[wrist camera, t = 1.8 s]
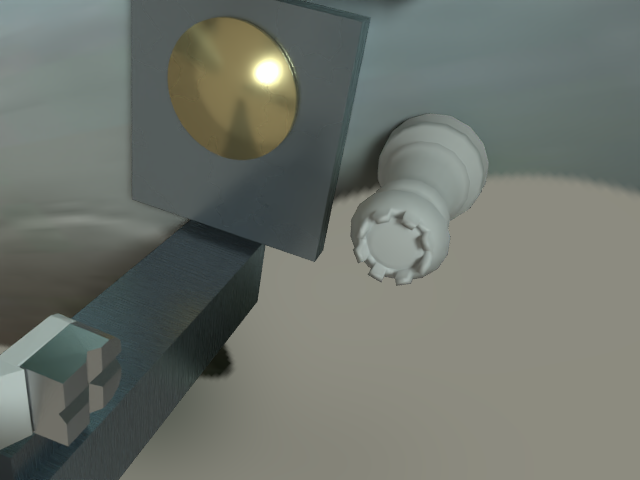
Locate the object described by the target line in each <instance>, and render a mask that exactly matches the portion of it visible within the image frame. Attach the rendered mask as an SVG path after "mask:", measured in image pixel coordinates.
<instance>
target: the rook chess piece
mask: <svg viewBox="0 0 640 480" xmlns="http://www.w3.org/2000/svg"><path fill="white" fill-rule="evenodd" d="M488 166H489V162H488V159H487V155H486V151H485V147H484V144H483V142H482V141H481V140H480V138H479V137H478V136H477V135H476V133H475V132H474V131H473V130H472V128H471V127H470V126H468V125H466V124H464V123H463V122H461V121H459V120H457V119H455V118H454V117H452V116H447V115H439V114H430V113H428V114H425V115H421V116H417V117H414V118H410V119H408V120H406V121H405V122H404V123H402V124H401V125H400V126H399V127H397V128H396V129H395V130H394V131H392V133H391V135H390V136H389V138H388V140H387V142H386V144H385V146H384V148H383V150H382V152H381V154H380V156H379V166H378V181H379V184H380V187H381V188H380V189H378V190H377V191H376V193H374V194H373V195H372V196H370V197H369V198H367V199H366V200H365V201H363V202H362V203H361V204H360V205H359V206H358V208H357V210H356V212H355V214H354V216H353V218H352V220H351V238H352V242H353V244H354V247H355V248H354V249H353V251H354V254H355V256H356V259H357V262H358V263H360V262H363V261H364V262H365V263H366V264H367V266H368V267H370V268H371V270H370V272H369V273H368V275H369V276H371V277H373V278H374V279H376V280H378V281H380V282H382V279H383V278H384V276H385V277H390V278H395V280H396V285H404V284H411V282H412V279H417V278H423V277H424V276H426V275H428V274H429V273H431V272H433V271H434V270H436V269H438V267H439V266H440V265H441V263H442V262H443V260H444V259H445V257H446V256H447V255H448V248H449V242H450V234H449V231H448V227H449V221H450V220H452V219H454V218H455V217H457V216H458V215H460V214H462V213H463V212H465V211H467V210H468V209H469V208H471V206H472V205H473V203H474V202H475V200H476V199H477V197H478V196H479V195H480V193H481V192H482V188H483V187H484V185H485V183H486V178H487V172H488Z"/></svg>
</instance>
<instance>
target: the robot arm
mask: <svg viewBox="0 0 640 480" xmlns="http://www.w3.org/2000/svg"><path fill="white" fill-rule="evenodd" d="M120 352H121V340H120V339H118V338H116V337H114V336H112V335H110V334H107V333H105V332H102V331H100V330H98V329H95V328H93V327H91V326H88V325H86V324H84V323H81V322H79V321H76V320H73V319H71V318H68V317H66V316H64V315H61V314H59V313H57V314H54V315H50V316H49V317H48V318H46V319H45V320H44V321H42V322H41V323H40V324H39V325H37V326H36V327H35V328H34V329H32V330H31V331H30V332H29V333H27V334H26V335H25V336H23V337H22V338H21V339H20V340H18V341H17V342H16V343H15V344H13V345H12V346H11V347H9V348H8V349H7V350H6V351H4V352H3V353H2V354H1V355H0V450H1V449H3V448H5V447H7V446H9V445H12V444H14V443H16V442H18V441H20V440H22V439H24V438H26V437H28V436H31V435H32V434H33V433H36V434H38V435H41V436H43V437H46V438H48V439H51V440H53V441H56V442H58V443H61V444H63V445H66V446H69V445H70V444H71V443H72V442H73V441H74V440H75V439H76V438H77V437H78V436H79V434H80V433H81V432H82V431H83V430H84V429H85V428H86V427H87V426H88V425H89V424H90V413H92V412H94V411H97V410H100V409H103V408H104V407H105V406H106V405H107V403H108V402H109V401H110V400H111V399H112V397H113V396H114V394H115V392H116V390H117V388H118V386H119V383H120V379H121V365H120V364H119V362H118V361H117V359H116V357H117V355H118V354H119V353H120ZM32 432H33V433H32Z"/></svg>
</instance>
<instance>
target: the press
mask: <svg viewBox="0 0 640 480" xmlns="http://www.w3.org/2000/svg"><path fill="white" fill-rule="evenodd" d="M369 23H370V17H366V16H361V15H357V14H353V13H349V12H345V11H341V10H337V9H333V8H329V7H325V6H321V5H317V4H313V3H309V2H305V1H301V0H132V199H133V200H136V201H139V202H142V203H145V204H148V205H151V206H154V207H156V208H159V209H162V210H165V211H168V212H171V213H174V214H177V215H180V216H183V217H186V218H188V219H191V220H190V221H189V222H188V223H186V224H185V225H184V226H183V227H182V228H180V229H179V230H178V231H177V232H175V233H174V234H173V235H172V236H171V237H169V238H168V239H167V240H166V241H165V242H163V243H162V244H161V245H160V246H158V247H157V248H156V249H155V250H154V251H152V252H151V253H150V254H149V255H148V256H146V257H145V258H144V259H143V260H141V261H140V262H139V263H138V264H137V265H135V266H134V267H133V268H132V269H131V270H129V271H128V272H127V273H126V274H124V275H123V276H122V277H121V278H120V279H118V280H117V281H116V282H115V283H114V284H112V285H111V286H110V287H109V288H107V289H106V290H105V291H104V292H103V293H101V294H100V295H99V296H98V297H97V298H95V299H94V300H93V301H92V302H90V303H89V304H88V305H87V306H86V307H84V308H83V309H82V310H81V311H80V312H78V313H77V314H76V315H75V316H73V317H72V318H71V319H73V320H76V321H79V322H81V323H84V324H86V325H88V326H91V327H93V328H95V329H98V330H100V331H102V332H105V333H107V334H110V335H112V336H114V337H116V338H118V339H120V340H121V352H120V353H119V354H118V355H117V357H116V359H117V361H118V362H119V364H120V365H121V379H120V383H119V386H118V388H117V390H116V392H115V394H114V396H113V397H112V399H111V400H110V401H109V402H108V403H107V405H106V406H105V407H104V408H103V409H100V410H97V411H94V412H92V413H90V424H89V425H88V426H87V427H86V428H85V429H84V430H83V431H82V432H81V433H80V434H79V436H78V437H77V438H76V439H75V440H74V441H73V442H72V443H71V444H70V445H69V446H66V445H63V444H61V443H58V442H56V441H53V440H51V439H48V438H46V437H43V436H41V435H38V434H36V433H33V432H32V433H33V434H32V435H31V436H28V437H26V438H24V439H22V440H20V441H18V442H16V443H14V444H12V445H9V446H7V447H5V448H3V449H1V450H0V480H119V479H120V477H121V476H122V475H123V473H124V472H125V471H126V469H127V468H128V467H129V466H130V464H131V463H132V462H133V460H134V459H135V458H136V457H137V455H138V454H139V453H140V452H141V450H142V449H143V448H144V446H145V445H146V444H147V443H148V441H149V440H150V439H151V437H152V436H153V435H154V434H155V432H156V431H157V430H158V428H159V427H160V426H161V425H162V423H163V422H164V421H165V419H166V418H167V417H168V416H169V414H170V413H171V412H172V410H173V409H174V408H175V407H176V405H177V404H178V403H179V401H180V400H181V399H182V398H183V396H184V395H185V394H186V392H187V391H188V390H189V389H190V387H191V386H192V385H193V383H194V382H195V381H196V380H197V378H198V377H199V376H200V375H201V373H202V372H203V371H204V369H205V368H206V367H207V366H208V364H209V363H210V362H211V360H212V359H213V358H214V357H215V355H216V354H217V353H218V351H219V350H220V349H221V348H222V346H223V345H224V344H225V342H226V341H227V340H228V338H229V337H230V336H231V335H232V333H233V332H234V331H235V330H236V328H237V327H238V326H239V324H240V323H241V322H242V321H243V319H244V318H245V316H246V315H247V314H248V313H249V311H250V310H251V309H252V308H253V306H254V305H255V304H256V303H257V300H258V293H259V286H260V279H261V272H262V265H263V258H264V251H265V245H267V246H270V247H273V248H276V249H279V250H282V251H284V252H287V253H290V254H293V255H296V256H299V257H302V258H305V259H308V260H311V261H314V262H315V261H316V259H317V258H318V256H319V255H320V254H321V252H322V251H323V248H324V243H325V238H326V233H327V228H328V223H329V218H330V214H331V209H332V204H333V199H334V194H335V189H336V184H337V179H338V174H339V170H340V165H341V160H342V155H343V150H344V145H345V140H346V135H347V130H348V125H349V121H350V116H351V111H352V106H353V101H354V96H355V91H356V86H357V81H358V77H359V72H360V67H361V62H362V57H363V52H364V47H365V42H366V37H367V33H368V28H369ZM5 351H6V350H5ZM0 355H1V354H0Z"/></svg>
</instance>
